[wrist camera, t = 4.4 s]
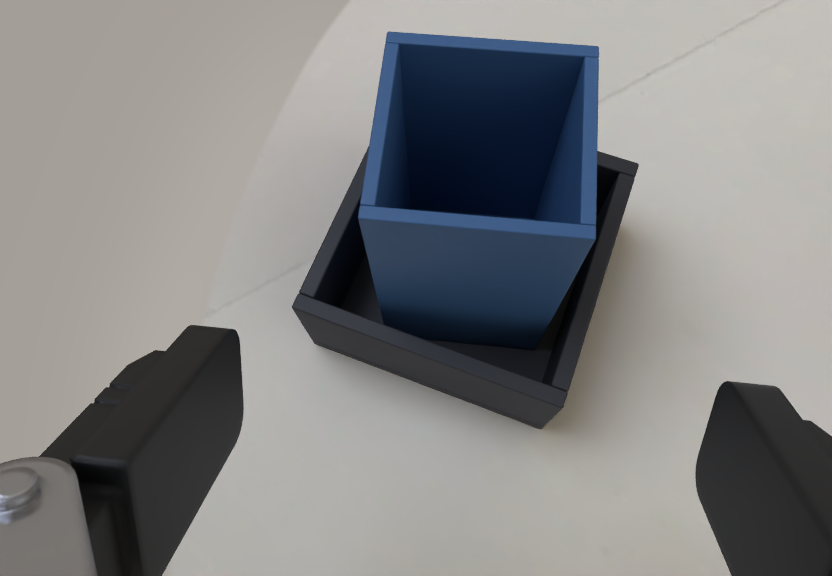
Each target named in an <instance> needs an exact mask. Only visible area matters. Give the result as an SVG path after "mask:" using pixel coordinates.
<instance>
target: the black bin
mask: <svg viewBox="0 0 832 576" xmlns="http://www.w3.org/2000/svg"><path fill="white" fill-rule="evenodd" d="M368 151H369V147H368V149H367V151H366V153H365V156H364V158H363V160H362V162H361V164H360V166H359V168H358V170H357V172H356V174H355V176H354V178H353V181H352V183H351V185H350V187H349V189H348V191H347V193H346V195H345V197H344V199H343V201H342V203H341V206H340V208H339V210H338V212H337V214H336V216H335V218H334V220H333V222H332V224H331V226H330V228H329V231H328V233H327V235H326V237H325V239H324V241H323V243H322V245H321V247H320V249H319V251H318V254H317V256H316V258H315V260H314V262H313V264H312V266H311V268H310V270H309V272H308V274H307V276H306V279H305V281H304V283H303V285H302V287H301V289H300V291H299V293H300V294H298V295H297V297H296V299H295V301H294V303H293V305H292V308H293V310H294V312H295V313H296V315H297V316H298V318H299V320H300V321H301V323H302V324H303V326H304V328H305V329H306V331H307V332H308V334H309V336H310V337H311V339H312V340H313V342H314V343H315V344H317V345H320V346H322V347H325V348H328V349H330V350H333V351H336V352H338V353H341V354H344V355H346V356H349V357H351V358H354V359H357V360H359V361H362V362H365V363H367V364H370V365H373V366H375V367H378V368H380V369H383V370H386V371H388V372H391V373H394V374H396V375H399V376H401V377H404V378H407V379H409V380H412V381H415V382H417V383H420V384H423V385H425V386H428V387H430V388H433V389H436V390H438V391H441V392H444V393H446V394H449V395H452V396H454V397H457V398H459V399H462V400H465V401H467V402H470V403H473V404H475V405H478V406H481V407H483V408H486V409H488V410H491V411H494V412H496V413H499V414H502V415H504V416H507V417H510V418H512V419H515V420H517V421H520V422H523V423H525V424H528V425H531V426H533V427H536V428H539V429H542V428H543V427H544V426H545V425H546V424H547V423H548V422H549V421H550V420H551V419H552V418H553V417H554V416H555V415H556V414H557V413H558V412H559V411H560V410H561V409H562V408H563V407H564V403H565V400H566V397H567V391H568V390H569V387H570V384H571V381H572V378H573V374H574V371H575V368H576V365H577V362H578V358H579V355H580V352H581V349H582V346H583V342H584V339H585V336H586V333H587V330H588V326H589V323H590V320H591V317H592V314H593V310H594V307H595V304H596V301H597V298H598V294H599V291H600V288H601V285H602V282H603V278H604V275H605V272H606V269H607V265H608V262H609V259H610V256H611V253H612V249H613V246H614V243H615V240H616V237H617V233H618V230H619V227H620V224H621V221H622V217H623V214H624V211H625V208H626V205H627V201H628V198H629V195H630V192H631V189H632V185H633V182H634V178H635V176H636V173H637V169H638V166H639V165H638V164H637V163H634V162H631V161H628V160H625V159H621V158H618V157H615V156H612V155H608V154H605V153H602V152H599V151H597V199H596V225H595V226H596V239H595V241H594V243H593V245H592V247H591V248H590V250H589V252H588V254H587V256H586V258H585V259H584V261H583V263H582V265H581V267H580V269H579V270H578V272H577V274H576V276H575V278H574V280H573V281H572V283H571V285H570V287H569V289H568V291H567V292H566V294H565V296H564V298H563V300H562V301H561V303H560V305H559V307H558V309H557V311H556V312H555V314H554V316H553V318H552V320H551V322H550V323H549V325H548V327H547V329H546V331H545V333H544V334H543V336H542V338H541V340H540V342H539V344H538V345H537V347H536V349H535V350H527V349H517V348H507V347H497V346H487V345H477V344H467V343H457V342H447V341H437V340H427V339H422V338H420V337H417V336H414V335H411V334H409V333H406V332H403V331H401V330H398V329H395V328H392V327H390V326H387V325H384V323H383V319H382V315H381V311H380V307H379V303H378V298H377V294H376V290H375V286H374V282H373V278H372V274H371V269H370V265H369V261H368V257H367V253H366V249H365V245H364V240H363V236H362V232H361V228H360V224H359V220H358V214H359V208H360V206H361V205H360V202H361V195H362V189H363V183H364V176H365V170H366V164H367V157H368Z"/></svg>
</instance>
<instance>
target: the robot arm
mask: <svg viewBox="0 0 832 576" xmlns="http://www.w3.org/2000/svg"><path fill="white" fill-rule="evenodd" d="M243 410H244V407H243V388H242V372H241V355H240V341H239V336H238V333H237V332H236V330H234V329H226V328H216V327H206V326H197V325H190V326H188V327H187V328H186V329H185V330H184V331H183V332H182V333H181V335H180V336H179V337H178V338H177V339H176V340H175V341H174V342H173V343H172V345H171V346H170V347H169V348H168V349H167V350H166V351H157V350H155V351H153V352H151V353H149V354H147V355H146V356H144V357H142V358H140V359H138V360H136V361H134V362H133V363H131V364H129V365H127V366H126V368H124V370H123V371H122V372H121V373H120V374H119V375H118V376H117V377H116V378H115V379H114V380H113V381H112V382H111V383H110V387H109V388H105V389H104V390H103V391H102V392H101V393H100V394H99V395H98V396H97V397H96V398H95V402H94V404H92V403H91V404H90V405H89V406H88V407H87V408H86V409H85V410H84V411H83V412H82V413H81V414H80V415H79V416H78V417H77V418H76V419H75V420H74V421H73V422H72V423H71V424H70V425H69V427H67V428H66V429H65V430H64V431H63V432H62V433H61V435H60V436H59V437H58V438H57V439H56V440H55V441H54V442H53V443H52V444H51V445H50V446H49V447H48V448H47V449H46V450H45V451H44V452H43V453H42V454H41V455H40V456H39V457H28V458H20V459H16V460H11V461H8V462H4V463H1V464H0V576H162V574H163V572H164V571H165V569H166V567H167V565H168V564H169V562H170V560H171V558H172V556H173V555H174V553H175V551H176V549H177V547H178V546H179V544H180V542H181V540H182V539H183V537H184V535H185V533H186V531H187V530H188V528H189V526H190V524H191V523H192V521H193V519H194V517H195V515H196V514H197V512H198V510H199V508H200V506H201V505H202V503H203V501H204V499H205V498H206V496H207V494H208V492H209V490H210V489H211V487H212V485H213V483H214V481H215V480H216V478H217V476H218V474H219V473H220V471H221V469H222V467H223V465H224V464H225V462H226V460H227V458H228V456H229V455H230V453H231V451H232V449H233V448H234V446H235V444H236V442H237V439H238V437H239V434H240V430H241V426H242V420H243ZM696 487H697V492H698V496H699V499H700V501H701V504H702V506H703V509H704V511H705V513H706V516H707V518H708V521H709V523H710V525H711V528H712V530H713V532H714V535H715V537H716V540H717V542H718V544H719V547H720V549H721V552H722V554H723V556H724V559H725V561H726V564H727V566H728V568H729V571H730V573H731V575H732V576H832V436H830V435H829V434H828V433H826V432H825V431H824V430H822V429H821V428H820V427H818V426H817V425H816V424H814V423H813V422H811V421H807V420H802V418H801V417H800V416H799V414H798V413H797V412H796V410H795V409H794V408H793V406H792V405H791V403H790V402H789V401H788V399H787V398H786V397H785V395H784V394H783V393H782V391H781V390H780V389H779V388H777V387H775V386H769V385H759V384H749V383H740V382H730V381H727V382H724V383H723V384H722V385H721V386H720V388H719V390H718V392H717V395H716V398H715V401H714V404H713V408H712V411H711V414H710V418H709V421H708V424H707V428H706V431H705V434H704V438H703V441H702V444H701V448H700V451H699V454H698V458H697V463H696Z"/></svg>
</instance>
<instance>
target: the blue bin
mask: <svg viewBox="0 0 832 576" xmlns="http://www.w3.org/2000/svg"><path fill="white" fill-rule="evenodd" d="M598 58H599V47H598V46H587V45H573V44H558V43H544V42H529V41H515V40H501V39H486V38H472V37H458V36H443V35H429V34H415V33H400V32H388V33H387V37H386V44H385V49H384V56H383V62H382V68H381V75H380V81H379V87H378V94H377V100H376V106H375V113H374V119H373V125H372V132H371V138H370V145H369V151H368V157H367V164H366V170H365V176H364V183H363V189H362V195H361V202H360V205H361V206H360V208H359V214H358V220H359V224H360V228H361V232H362V236H363V240H364V245H365V249H366V253H367V257H368V261H369V265H370V269H371V274H372V278H373V282H374V286H375V290H376V294H377V298H378V303H379V307H380V311H381V315H382V319H383V323H384V325H387V326H390V327H392V328H395V329H398V330H401V331H403V332H406V333H409V334H411V335H414V336H417V337H420V338H422V339H427V340H437V341H447V342H457V343H467V344H477V345H487V346H497V347H507V348H517V349H527V350H535V349H536V347H537V345H538V344H539V342H540V340H541V338H542V336H543V334H544V333H545V331H546V329H547V327H548V325H549V323H550V322H551V320H552V318H553V316H554V314H555V312H556V311H557V309H558V307H559V305H560V303H561V301H562V300H563V298H564V296H565V294H566V292H567V291H568V289H569V287H570V285H571V283H572V281H573V280H574V278H575V276H576V274H577V272H578V270H579V269H580V267H581V265H582V263H583V261H584V259H585V258H586V256H587V254H588V252H589V250H590V248H591V247H592V245H593V243H594V241H595V239H596V226H595V225H596V199H597V136H598V73H599V59H598Z"/></svg>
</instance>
